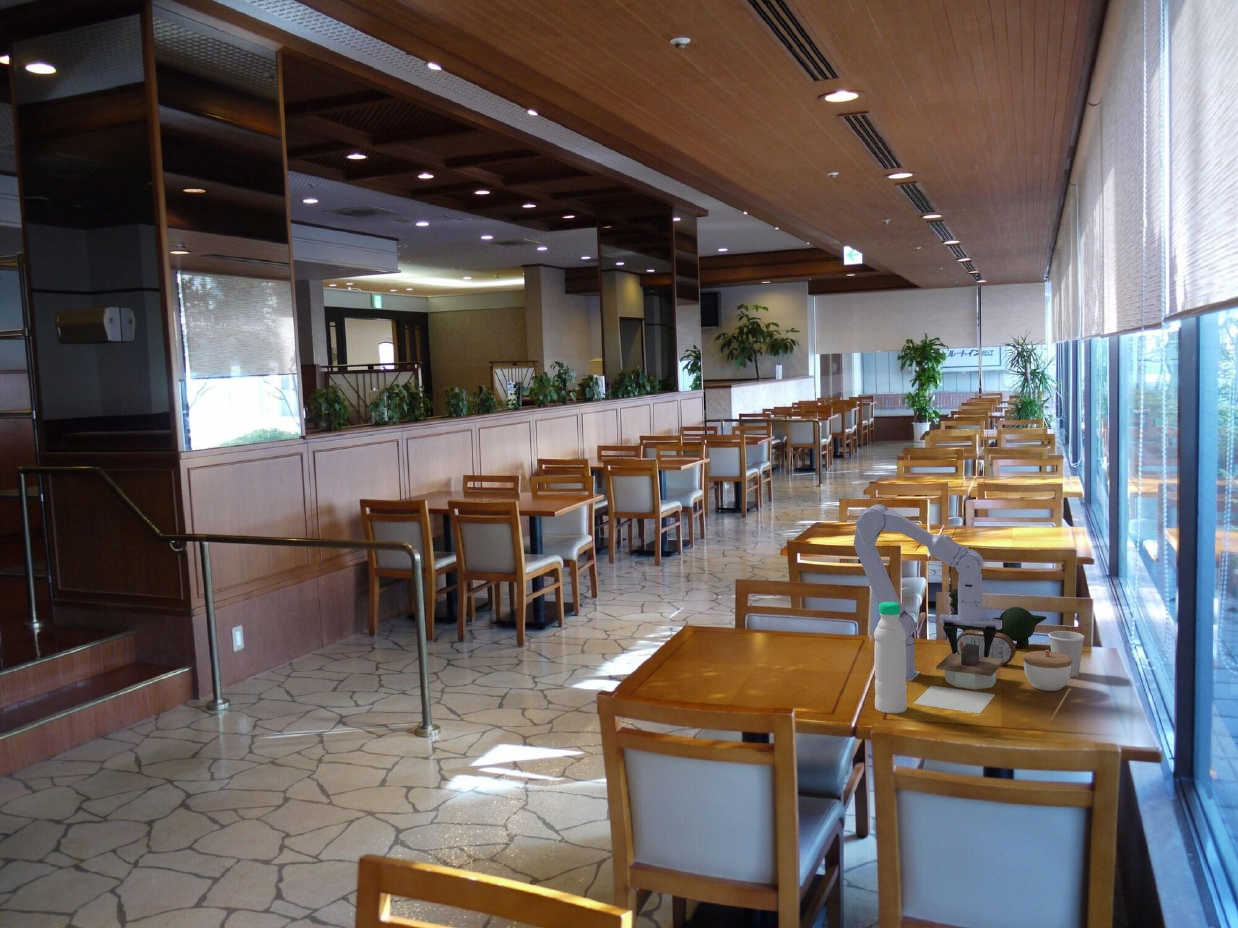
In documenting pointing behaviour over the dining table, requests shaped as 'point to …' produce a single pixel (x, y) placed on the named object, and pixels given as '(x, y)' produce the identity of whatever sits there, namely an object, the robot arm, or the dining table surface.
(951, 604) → the toy figurine
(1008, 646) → the tin
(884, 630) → the water bottle
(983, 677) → the bowl
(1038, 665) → the lidded jar
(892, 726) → the dining table surface
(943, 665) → the lid
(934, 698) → the mat
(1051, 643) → the dixie cup
